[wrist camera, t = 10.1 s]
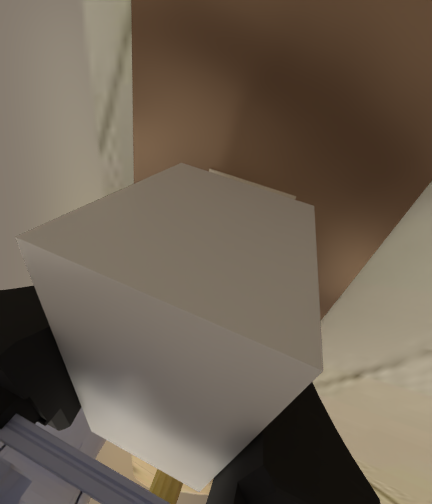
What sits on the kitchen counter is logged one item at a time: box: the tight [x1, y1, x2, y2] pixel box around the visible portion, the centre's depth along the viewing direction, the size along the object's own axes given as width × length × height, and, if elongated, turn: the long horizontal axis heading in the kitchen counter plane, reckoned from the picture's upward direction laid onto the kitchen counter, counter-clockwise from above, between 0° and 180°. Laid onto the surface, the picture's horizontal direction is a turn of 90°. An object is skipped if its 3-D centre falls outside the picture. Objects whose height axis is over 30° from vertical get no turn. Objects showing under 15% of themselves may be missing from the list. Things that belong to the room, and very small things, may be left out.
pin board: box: [131, 0, 432, 321], centre depth 12 cm, size 22×12×4 cm, turn 168°
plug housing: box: [15, 163, 323, 492], centre depth 9 cm, size 10×5×6 cm, turn 168°
